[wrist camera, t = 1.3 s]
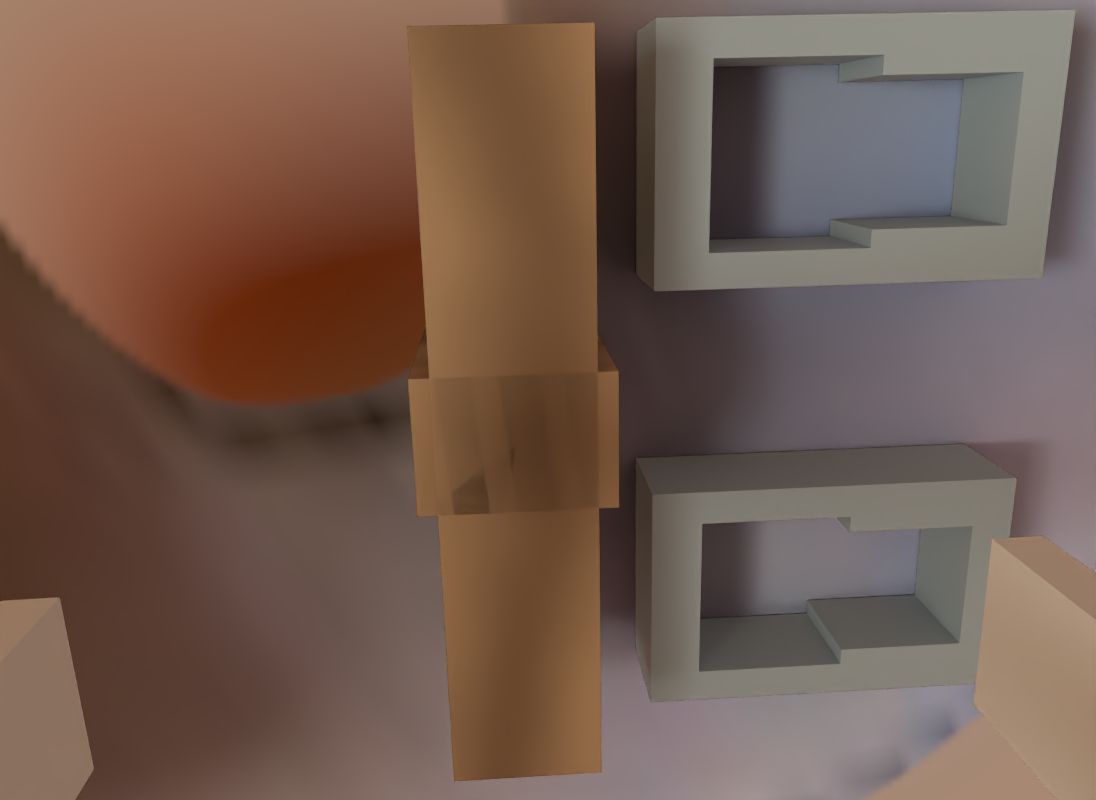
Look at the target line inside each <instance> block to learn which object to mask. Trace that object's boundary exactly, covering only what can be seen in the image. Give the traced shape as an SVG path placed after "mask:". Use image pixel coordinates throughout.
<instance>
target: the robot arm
mask: <svg viewBox="0 0 1096 800" xmlns="http://www.w3.org/2000/svg"><path fill="white" fill-rule="evenodd" d="M974 705H975V706H976V707H977V709H978V710H979V711H980V712H981V713H982V714H983V715H984V717H985V718H986V719H987V720H988V721H989V722H990V723H991V725H992V726H993V727H994V728H995V729H996V730H997V731H998V733H999V734H1000V735H1001V736H1002V737H1003V738H1004V739H1005V740H1006V742H1007V743H1008V744H1009V745H1010V746H1011V747H1012V749H1013V750H1014V751H1015V752H1016V753H1017V754H1018V755H1019V757H1020V758H1021V759H1022V760H1023V761H1024V762H1025V763H1026V765H1027V766H1028V767H1029V768H1030V769H1031V770H1032V771H1033V773H1034V774H1035V775H1036V776H1037V777H1038V778H1039V780H1040V781H1041V782H1042V783H1043V784H1044V785H1045V786H1046V787H1047V789H1048V790H1049V791H1050V792H1051V793H1052V794H1053V795H1054V797H1055V798H1056V799H1057V800H1096V573H1095V572H1094V571H1092V570H1091V569H1089V568H1088V567H1086V566H1085V565H1084V564H1082V563H1081V562H1079V561H1078V560H1077V559H1075V558H1074V557H1072V556H1071V555H1069V554H1068V553H1067V552H1065V551H1064V550H1062V549H1061V548H1059V547H1058V546H1057V545H1055V544H1054V543H1052V542H1051V541H1050V540H1048V539H1047V538H1045V537H1044V536H1032V537H1016V538H1000V539H992V544H991V552H990V561H989V570H988V579H987V588H986V597H985V606H984V615H983V624H982V633H981V641H980V650H979V659H978V668H977V677H976V686H975V695H974ZM93 770H94V766H93V761H92V756H91V751H90V746H89V741H88V736H87V731H86V726H85V721H84V716H83V711H82V706H81V701H80V696H79V691H78V686H77V681H76V676H75V671H74V666H73V661H72V656H71V651H70V646H69V641H68V636H67V631H66V626H65V621H64V616H63V611H62V606H61V601H60V597H55V598H39V599H23V600H7V601H1V602H0V800H76V798H77V796H78V795H79V793H80V791H81V790H82V788H83V786H84V785H85V783H86V781H87V780H88V778H89V777H90V775H91V773H92V772H93Z"/></svg>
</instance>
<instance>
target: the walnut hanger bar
mask: <svg viewBox="0 0 1096 800" xmlns="http://www.w3.org/2000/svg"><path fill="white" fill-rule="evenodd" d="M407 29H408V46H409V62H410V78H411V94H412V110H413V126H414V142H415V159H416V174H417V190H418V206H419V222H420V238H421V255H422V271H423V286H424V302H425V319H426V327H425V330H424V333H423V336H422V339H421V342H420V345H419V348H418V351H417V354H416V357H415V360H414V363H413V366H412V369H411V372H410V375H409V378H408V388H409V402H410V417H411V431H412V446H413V460H414V475H415V489H416V504H417V517H425V516H438V527H439V543H440V559H441V575H442V592H443V608H444V624H445V640H446V656H447V672H448V688H449V704H450V720H451V736H452V752H453V768H454V781H468V780H484V779H500V778H516V777H532V776H549V775H565V774H581V773H597V772H602V759H601V653H600V547H599V508H617V507H619V371H618V369H617V367H616V366H615V364H614V362H613V360H612V358H611V356H610V355H609V353H608V351H607V349H606V347H605V346H604V344H603V342H602V340H601V338H600V337H599V335H598V333H597V230H596V124H595V23H546V24H494V25H441V26H408V27H407Z"/></svg>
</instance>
